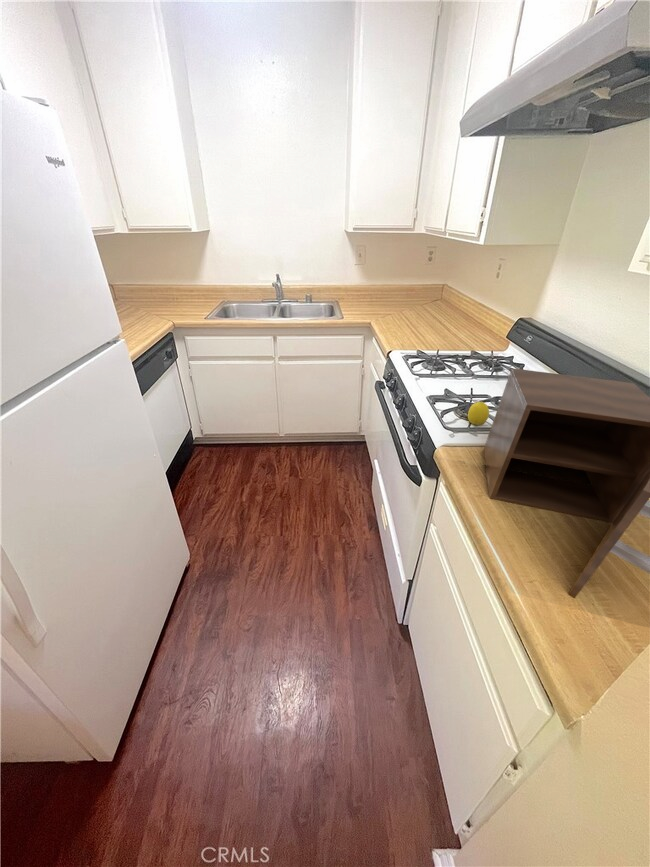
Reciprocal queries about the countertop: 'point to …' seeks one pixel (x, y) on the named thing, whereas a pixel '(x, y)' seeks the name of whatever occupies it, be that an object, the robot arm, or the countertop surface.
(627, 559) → the door
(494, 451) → the cupboard
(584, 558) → the countertop surface
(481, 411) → the lemon
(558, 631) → the countertop surface
